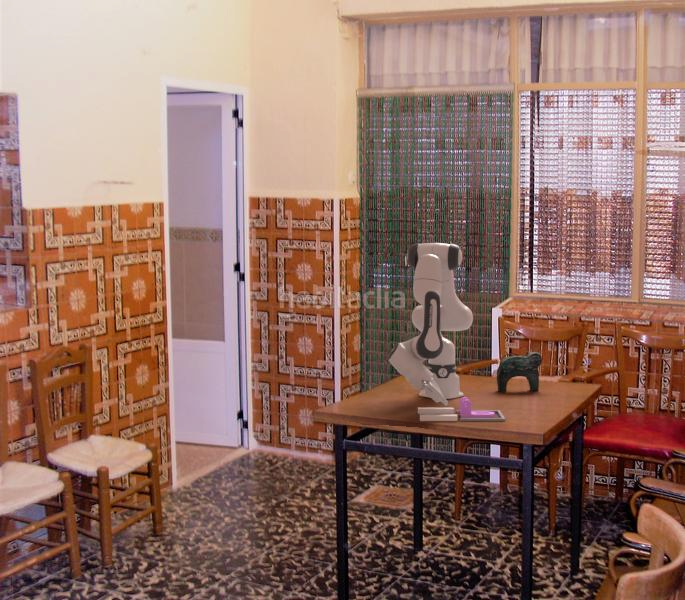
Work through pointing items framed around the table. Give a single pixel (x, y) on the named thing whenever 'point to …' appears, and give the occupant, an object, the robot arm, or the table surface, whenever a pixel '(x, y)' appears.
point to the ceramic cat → (519, 369)
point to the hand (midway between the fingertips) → (447, 404)
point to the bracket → (467, 413)
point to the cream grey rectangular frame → (451, 415)
